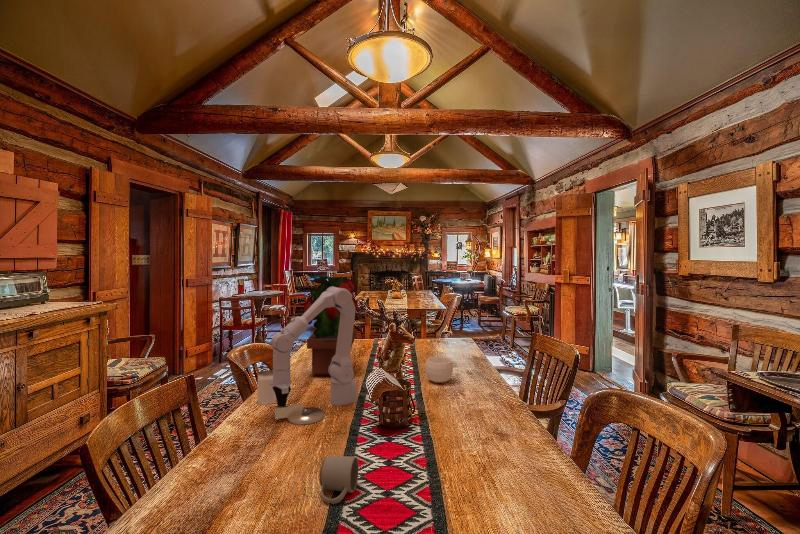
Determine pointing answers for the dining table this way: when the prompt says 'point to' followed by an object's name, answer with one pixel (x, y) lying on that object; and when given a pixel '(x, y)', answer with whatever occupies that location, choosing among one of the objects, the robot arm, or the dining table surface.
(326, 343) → the potted plant
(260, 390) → the can
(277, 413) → the dial
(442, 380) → the cup
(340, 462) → the ceramic mug
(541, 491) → the dining table surface
